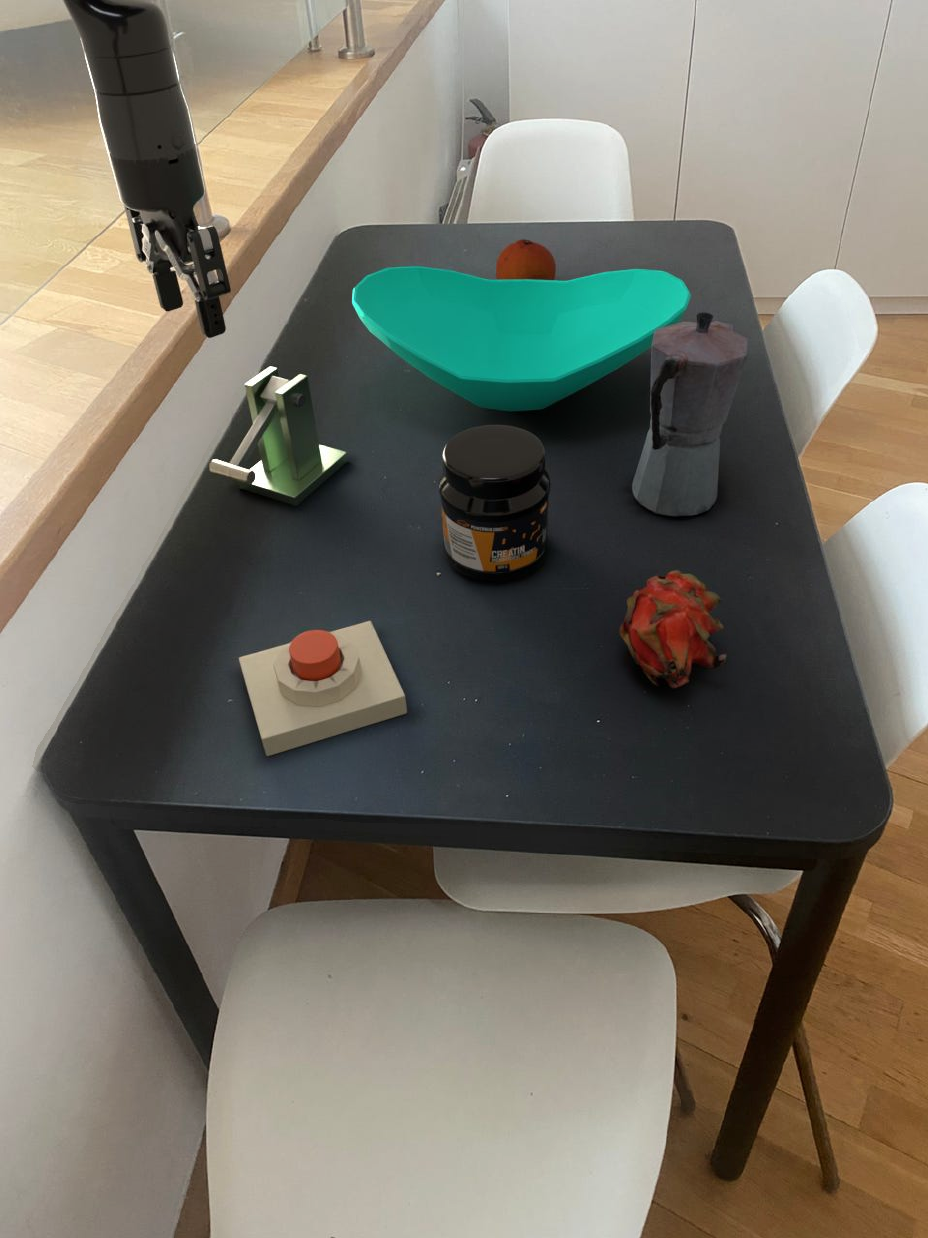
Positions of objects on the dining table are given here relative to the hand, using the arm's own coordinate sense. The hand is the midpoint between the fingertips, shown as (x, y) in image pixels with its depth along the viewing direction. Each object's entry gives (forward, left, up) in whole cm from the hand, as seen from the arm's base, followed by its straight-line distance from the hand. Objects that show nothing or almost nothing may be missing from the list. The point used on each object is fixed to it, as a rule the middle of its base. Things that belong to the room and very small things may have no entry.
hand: (193, 321), depth 91 cm
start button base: (+1, -36, -19) cm, 41 cm away
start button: (+1, -36, -15) cm, 39 cm away
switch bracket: (+7, -2, -19) cm, 20 cm away
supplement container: (+22, -24, -19) cm, 38 cm away
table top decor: (+37, +5, -19) cm, 42 cm away
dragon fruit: (+30, -44, -19) cm, 57 cm away
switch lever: (+4, -4, -12) cm, 13 cm away
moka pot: (+43, -23, -19) cm, 53 cm away
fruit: (+50, +32, -19) cm, 62 cm away
